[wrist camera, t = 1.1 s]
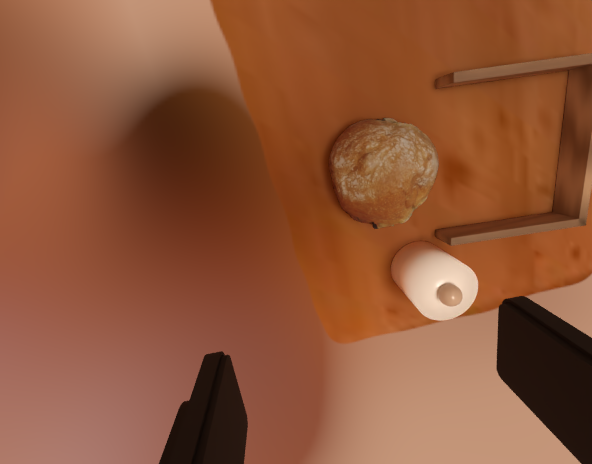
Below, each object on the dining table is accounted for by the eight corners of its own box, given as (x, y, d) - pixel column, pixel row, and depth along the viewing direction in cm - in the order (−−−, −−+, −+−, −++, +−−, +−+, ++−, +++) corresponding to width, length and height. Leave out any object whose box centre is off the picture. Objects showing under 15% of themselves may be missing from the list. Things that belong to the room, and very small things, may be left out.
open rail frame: (435, 79, 28) (453, 72, 25) (578, 59, 28) (612, 50, 25) (435, 236, 33) (450, 245, 30) (558, 218, 33) (585, 225, 30)
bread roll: (410, 136, 33) (449, 92, 25) (424, 228, 31) (470, 211, 24) (321, 142, 33) (332, 98, 25) (330, 235, 31) (345, 220, 23)
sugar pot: (389, 245, 33) (422, 274, 25) (443, 237, 33) (491, 264, 25) (391, 294, 34) (423, 335, 27) (443, 286, 34) (488, 324, 27)
